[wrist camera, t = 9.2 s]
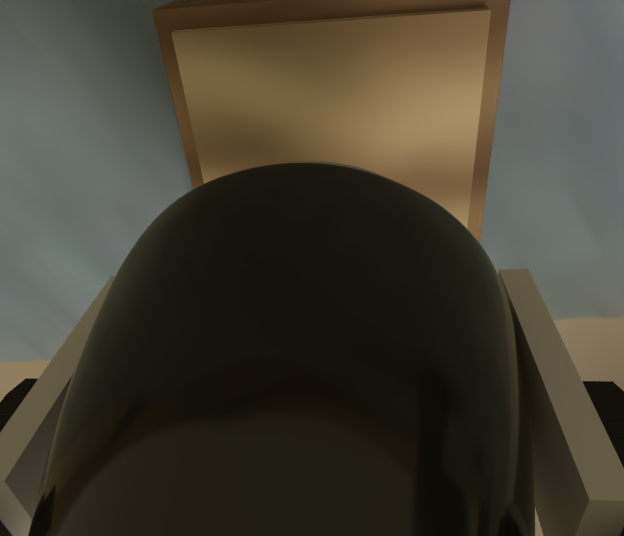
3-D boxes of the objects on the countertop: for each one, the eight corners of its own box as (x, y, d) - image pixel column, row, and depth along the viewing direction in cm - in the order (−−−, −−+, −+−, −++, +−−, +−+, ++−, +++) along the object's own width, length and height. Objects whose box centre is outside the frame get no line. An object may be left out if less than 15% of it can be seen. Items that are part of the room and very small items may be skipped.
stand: (171, 2, 22) (147, 12, 20) (498, -24, 21) (516, -17, 18) (226, 264, 30) (213, 294, 28) (466, 260, 28) (475, 292, 26)
